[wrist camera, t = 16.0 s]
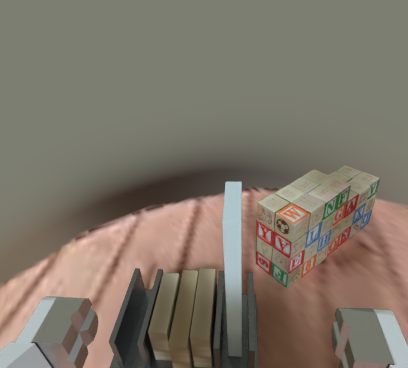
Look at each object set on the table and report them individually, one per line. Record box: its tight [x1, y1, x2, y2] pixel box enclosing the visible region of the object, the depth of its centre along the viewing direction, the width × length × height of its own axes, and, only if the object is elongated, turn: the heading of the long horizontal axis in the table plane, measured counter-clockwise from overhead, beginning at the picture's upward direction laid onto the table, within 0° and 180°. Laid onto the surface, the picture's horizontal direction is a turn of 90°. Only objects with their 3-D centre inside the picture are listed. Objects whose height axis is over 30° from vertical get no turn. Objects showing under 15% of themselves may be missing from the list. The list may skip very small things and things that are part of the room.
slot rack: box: [109, 268, 258, 368], centre depth 39 cm, size 17×11×6 cm, turn 84°
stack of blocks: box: [256, 165, 380, 288], centre depth 49 cm, size 21×6×12 cm, turn 127°
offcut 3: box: [190, 268, 217, 368], centre depth 38 cm, size 2×9×6 cm, turn 174°
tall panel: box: [223, 182, 242, 357], centre depth 33 cm, size 2×6×20 cm, turn 174°
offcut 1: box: [148, 273, 180, 361], centre depth 38 cm, size 2×8×6 cm, turn 174°
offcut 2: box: [168, 270, 199, 368], centre depth 38 cm, size 2×10×5 cm, turn 174°
